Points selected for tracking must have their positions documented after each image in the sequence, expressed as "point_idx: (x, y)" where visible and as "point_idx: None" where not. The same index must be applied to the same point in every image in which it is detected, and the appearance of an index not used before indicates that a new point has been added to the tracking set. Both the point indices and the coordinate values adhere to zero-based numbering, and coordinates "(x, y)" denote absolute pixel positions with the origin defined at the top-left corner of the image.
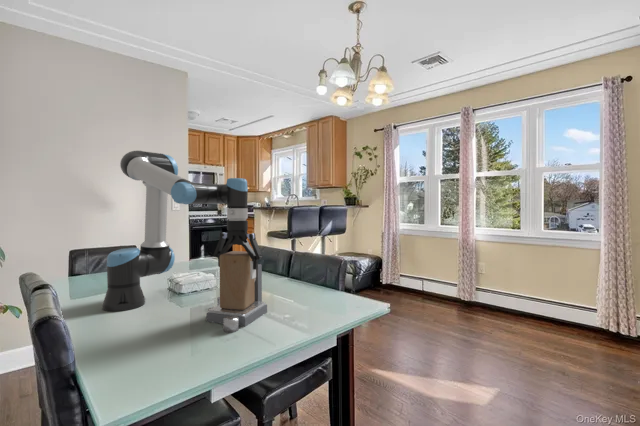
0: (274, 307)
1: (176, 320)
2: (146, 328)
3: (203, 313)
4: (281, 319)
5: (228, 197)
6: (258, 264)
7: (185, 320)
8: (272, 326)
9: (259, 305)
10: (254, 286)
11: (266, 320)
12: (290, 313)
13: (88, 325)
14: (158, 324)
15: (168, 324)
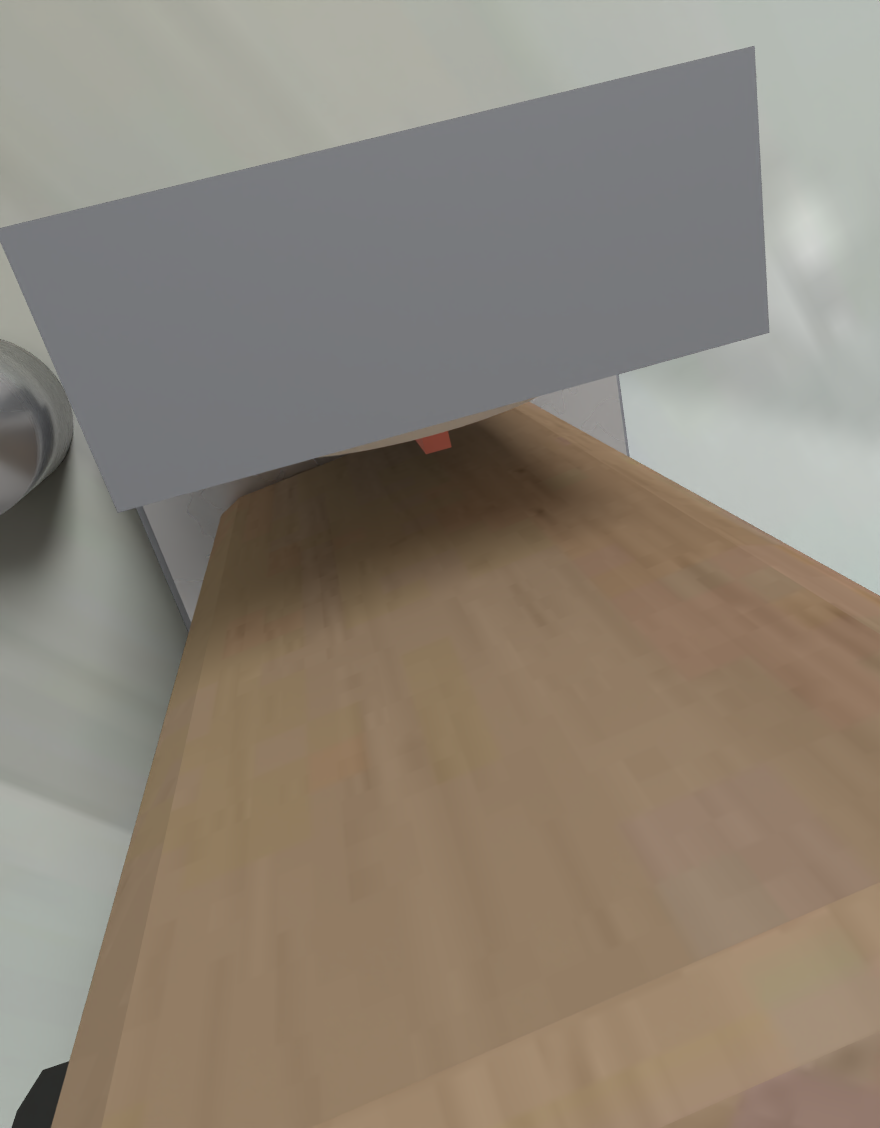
0: (539, 55)
1: (31, 896)
2: (33, 1070)
3: (34, 676)
4: (806, 355)
5: None
6: (655, 119)
7: (94, 854)
8: (812, 526)
9: (621, 429)
10: (589, 436)
11: (698, 455)
12: (811, 148)
13: None
14: (13, 1003)
15: (77, 961)
